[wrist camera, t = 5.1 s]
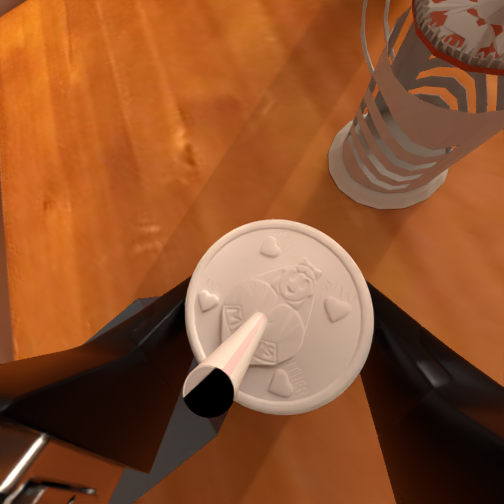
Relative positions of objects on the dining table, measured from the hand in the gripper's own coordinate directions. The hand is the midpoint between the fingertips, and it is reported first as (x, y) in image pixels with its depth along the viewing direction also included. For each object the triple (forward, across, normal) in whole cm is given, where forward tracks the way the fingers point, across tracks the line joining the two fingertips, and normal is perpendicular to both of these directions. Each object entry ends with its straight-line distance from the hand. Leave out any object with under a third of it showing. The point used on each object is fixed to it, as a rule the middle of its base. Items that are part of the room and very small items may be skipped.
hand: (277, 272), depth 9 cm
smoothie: (+4, 0, +6) cm, 7 cm away
